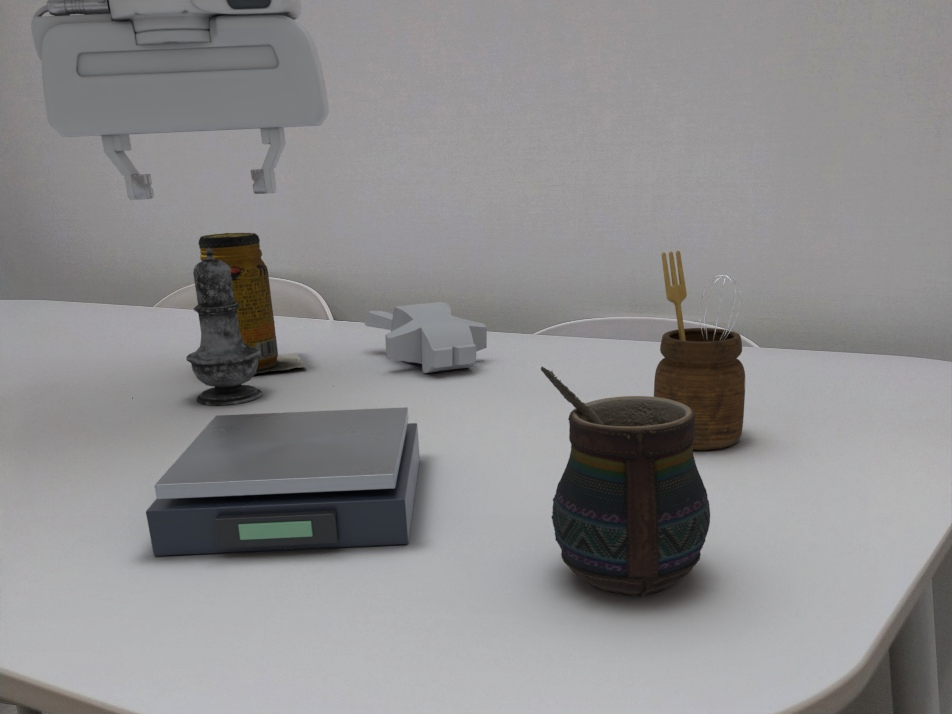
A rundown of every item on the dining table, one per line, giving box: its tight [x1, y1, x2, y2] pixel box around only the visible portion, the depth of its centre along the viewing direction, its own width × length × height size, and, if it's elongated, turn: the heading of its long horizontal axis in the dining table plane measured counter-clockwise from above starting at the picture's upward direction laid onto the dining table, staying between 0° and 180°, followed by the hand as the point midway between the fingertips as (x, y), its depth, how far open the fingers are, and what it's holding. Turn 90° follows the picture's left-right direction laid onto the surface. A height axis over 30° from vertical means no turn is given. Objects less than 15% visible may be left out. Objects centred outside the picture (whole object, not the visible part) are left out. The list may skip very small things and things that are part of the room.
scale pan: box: [154, 407, 410, 500], centre depth 55 cm, size 12×13×1 cm
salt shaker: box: [185, 247, 263, 406], centre depth 78 cm, size 6×6×12 cm
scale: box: [145, 422, 421, 557], centre depth 55 cm, size 13×15×2 cm
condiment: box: [198, 232, 307, 375], centre depth 88 cm, size 7×8×12 cm
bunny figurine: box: [364, 301, 488, 374], centre depth 90 cm, size 10×5×15 cm
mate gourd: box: [540, 366, 711, 598], centre depth 44 cm, size 7×8×10 cm
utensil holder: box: [653, 250, 746, 451], centre depth 63 cm, size 6×6×12 cm
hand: (203, 196), depth 74 cm, fingers open, 8 cm apart
